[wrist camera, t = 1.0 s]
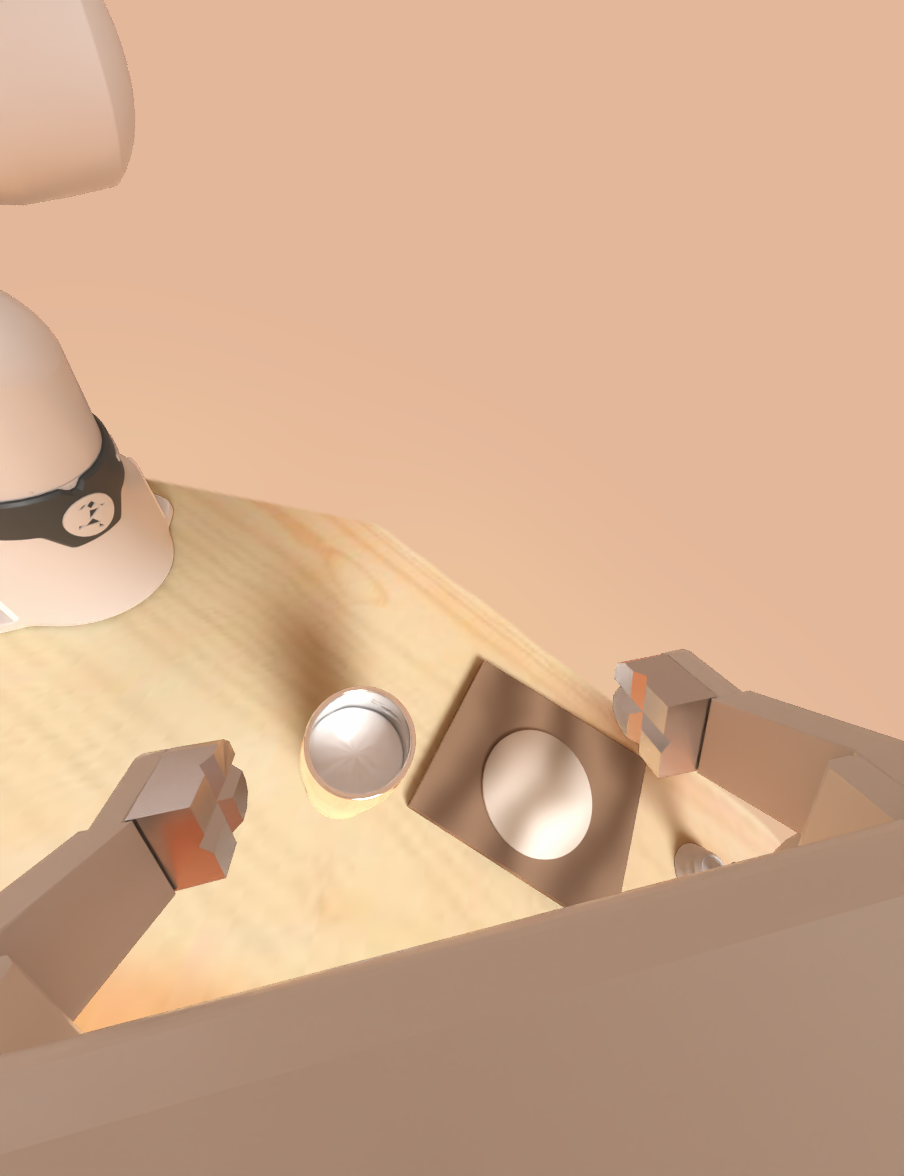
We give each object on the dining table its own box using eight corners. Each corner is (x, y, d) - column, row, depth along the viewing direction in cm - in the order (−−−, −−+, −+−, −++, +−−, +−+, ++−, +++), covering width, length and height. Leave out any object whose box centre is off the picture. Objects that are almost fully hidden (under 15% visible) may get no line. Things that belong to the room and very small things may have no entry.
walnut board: (407, 806, 38) (410, 804, 37) (480, 664, 47) (485, 658, 46) (604, 933, 37) (615, 936, 36) (639, 762, 46) (649, 759, 45)
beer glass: (320, 729, 39) (327, 667, 27) (392, 751, 40) (431, 702, 28) (286, 812, 35) (277, 783, 23) (367, 836, 36) (400, 820, 24)
